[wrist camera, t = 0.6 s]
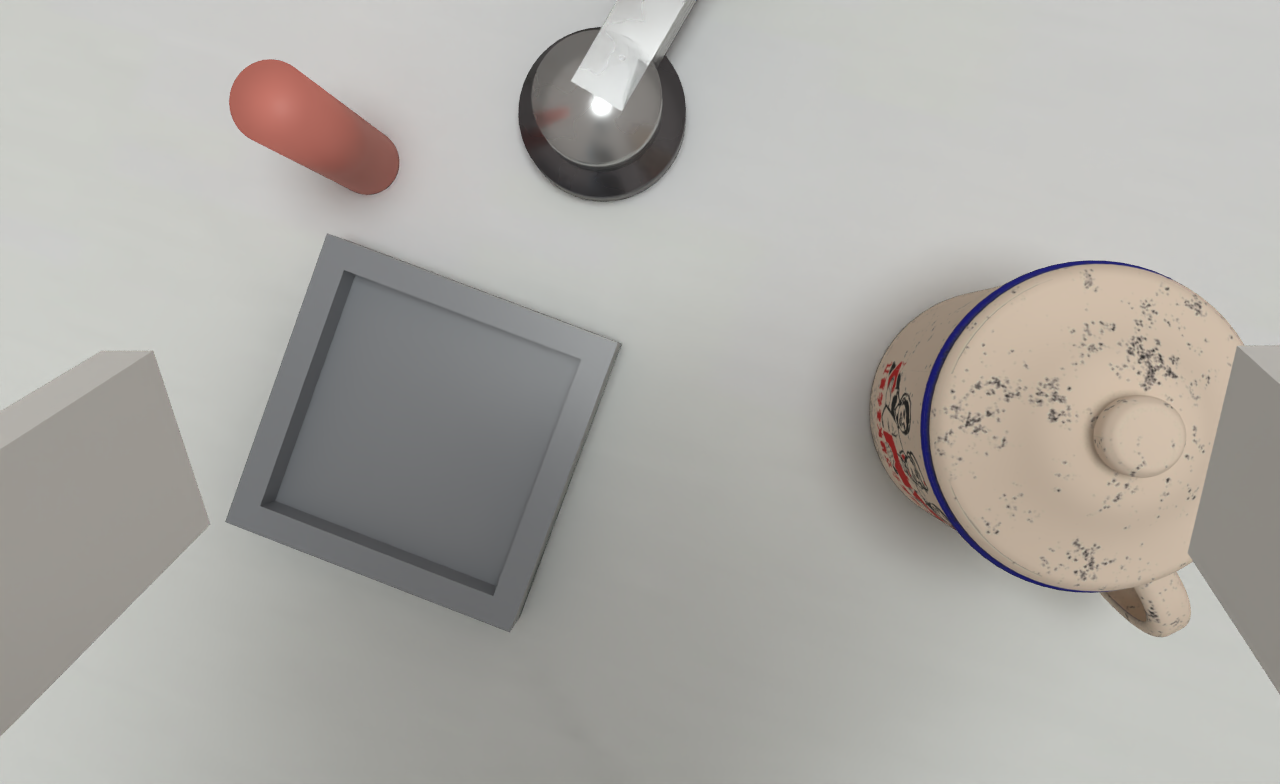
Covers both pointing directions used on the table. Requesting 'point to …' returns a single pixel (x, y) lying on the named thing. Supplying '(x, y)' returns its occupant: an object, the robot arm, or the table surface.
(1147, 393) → the teacup with lid
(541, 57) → the crank base
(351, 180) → the post
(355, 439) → the tray
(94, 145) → the table surface
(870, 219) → the table surface
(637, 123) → the crank arm
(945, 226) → the table surface
